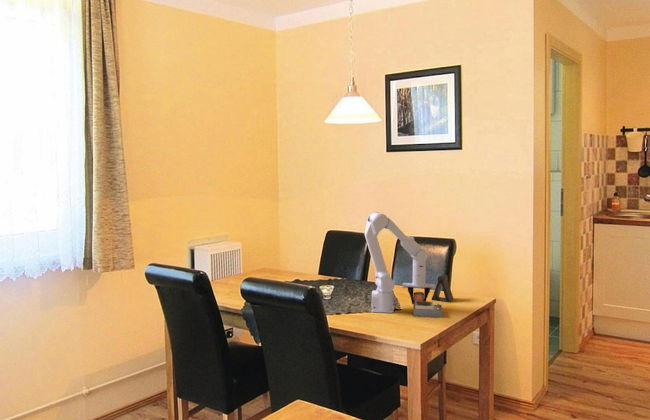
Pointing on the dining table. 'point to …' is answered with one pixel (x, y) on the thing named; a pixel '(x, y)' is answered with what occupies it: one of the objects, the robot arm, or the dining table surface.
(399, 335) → the dining table surface
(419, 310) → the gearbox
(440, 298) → the phone stand
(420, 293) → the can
